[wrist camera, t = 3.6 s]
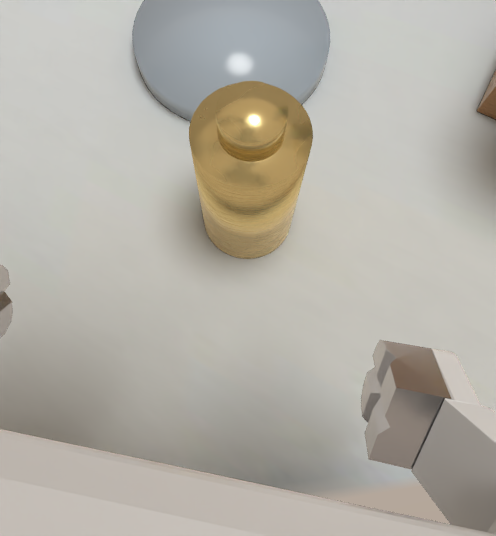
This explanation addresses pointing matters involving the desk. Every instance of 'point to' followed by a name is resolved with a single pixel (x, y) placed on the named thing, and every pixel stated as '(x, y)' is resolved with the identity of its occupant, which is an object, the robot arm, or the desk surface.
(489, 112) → the balance
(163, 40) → the grey glossy dome
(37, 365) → the desk surface
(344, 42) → the desk surface
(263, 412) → the desk surface
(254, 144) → the brass weight
